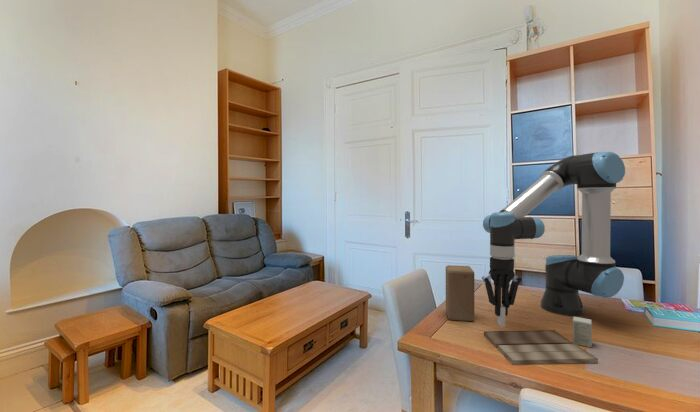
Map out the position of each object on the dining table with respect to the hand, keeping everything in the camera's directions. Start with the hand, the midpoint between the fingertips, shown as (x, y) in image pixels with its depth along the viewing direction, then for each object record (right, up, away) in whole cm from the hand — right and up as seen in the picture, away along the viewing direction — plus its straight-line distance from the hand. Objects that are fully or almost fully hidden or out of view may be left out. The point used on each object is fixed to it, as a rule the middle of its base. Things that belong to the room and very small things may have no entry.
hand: (501, 324), depth 108 cm
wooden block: (-8, -4, +19) cm, 21 cm away
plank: (+7, -4, -3) cm, 9 cm away
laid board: (+7, -5, -13) cm, 15 cm away
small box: (+24, -4, -5) cm, 25 cm away
